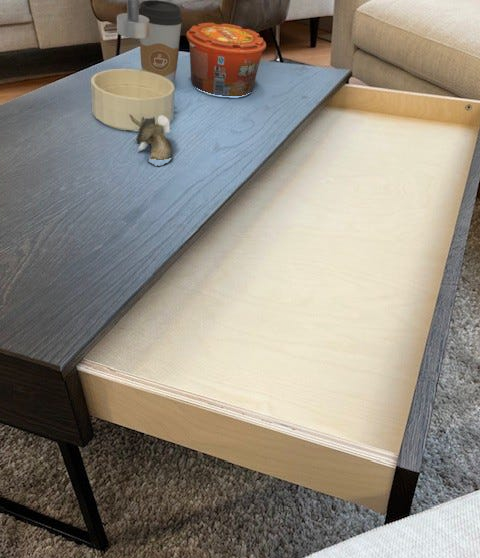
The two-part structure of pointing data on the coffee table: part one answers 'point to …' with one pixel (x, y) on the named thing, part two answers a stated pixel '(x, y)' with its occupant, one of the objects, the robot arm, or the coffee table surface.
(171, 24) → the coffee cup
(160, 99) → the bowl
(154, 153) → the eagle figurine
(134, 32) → the ball-top lever stand
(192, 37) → the food container
